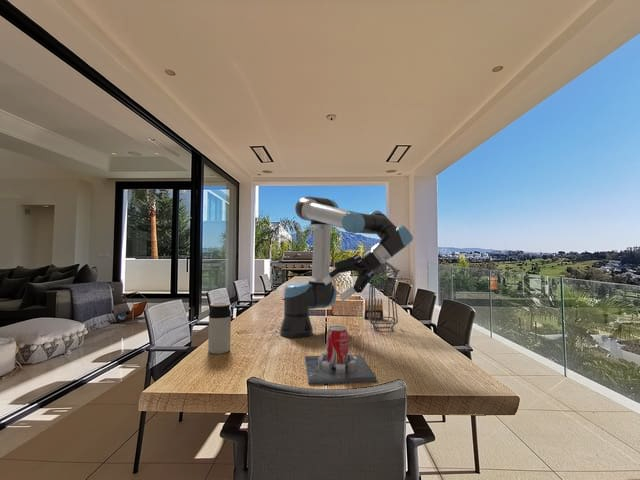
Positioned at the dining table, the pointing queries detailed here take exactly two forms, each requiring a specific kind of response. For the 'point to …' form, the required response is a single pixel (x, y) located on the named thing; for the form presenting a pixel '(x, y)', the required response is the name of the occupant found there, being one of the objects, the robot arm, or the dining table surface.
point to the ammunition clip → (378, 309)
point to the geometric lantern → (388, 295)
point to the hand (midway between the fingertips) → (332, 291)
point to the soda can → (337, 345)
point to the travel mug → (219, 328)
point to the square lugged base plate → (338, 370)
